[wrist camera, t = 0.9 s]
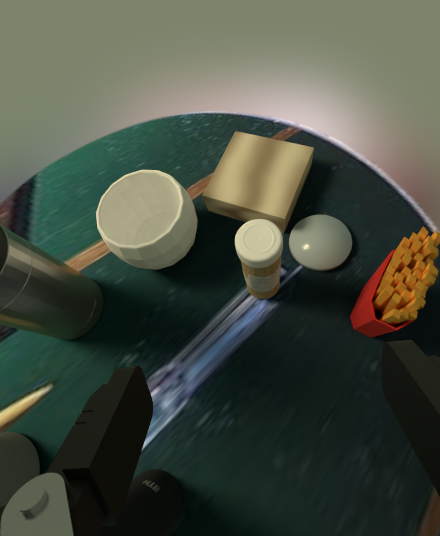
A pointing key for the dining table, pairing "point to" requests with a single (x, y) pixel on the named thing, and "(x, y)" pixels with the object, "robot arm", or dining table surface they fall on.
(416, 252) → the french fries
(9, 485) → the water bottle
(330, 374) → the dining table surface
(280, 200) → the birch block
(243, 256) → the sprinkles bottle
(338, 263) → the pale grey dome
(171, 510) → the black bottle
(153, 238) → the cup
